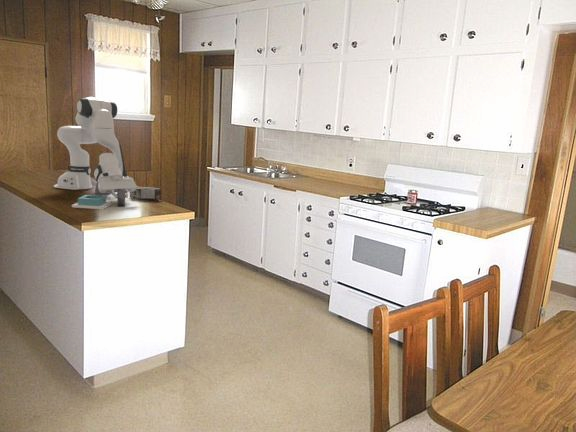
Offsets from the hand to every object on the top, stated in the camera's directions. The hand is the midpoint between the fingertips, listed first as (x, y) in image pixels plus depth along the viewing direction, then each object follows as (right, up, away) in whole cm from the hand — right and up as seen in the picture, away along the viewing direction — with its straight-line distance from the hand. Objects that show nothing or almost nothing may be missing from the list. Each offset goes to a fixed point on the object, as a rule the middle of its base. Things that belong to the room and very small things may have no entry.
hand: (121, 197), depth 251 cm
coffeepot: (-22, +4, +32) cm, 40 cm away
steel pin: (-1, -5, +1) cm, 5 cm away
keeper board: (-15, -5, -3) cm, 16 cm away
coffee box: (-3, +5, +28) cm, 28 cm away
